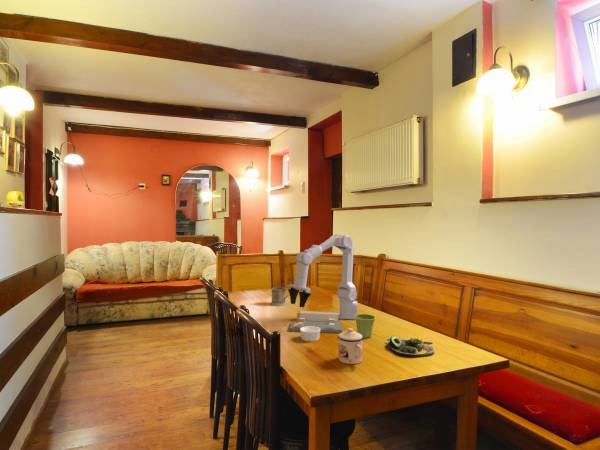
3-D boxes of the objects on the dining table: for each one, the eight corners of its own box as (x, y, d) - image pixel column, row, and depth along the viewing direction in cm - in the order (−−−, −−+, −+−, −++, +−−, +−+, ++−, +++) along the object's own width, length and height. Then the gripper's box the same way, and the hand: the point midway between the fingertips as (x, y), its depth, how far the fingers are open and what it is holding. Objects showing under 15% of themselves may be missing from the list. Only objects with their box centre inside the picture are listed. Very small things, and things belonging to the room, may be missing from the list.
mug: (267, 305, 221) (267, 285, 221) (274, 301, 230) (274, 282, 230) (289, 307, 216) (289, 287, 215) (295, 304, 225) (296, 284, 224)
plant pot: (376, 333, 167) (376, 314, 167) (373, 340, 158) (374, 320, 158) (356, 331, 170) (356, 313, 170) (352, 338, 161) (352, 318, 161)
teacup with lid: (333, 357, 138) (333, 326, 138) (354, 354, 142) (354, 324, 142) (350, 369, 127) (350, 336, 127) (372, 365, 131) (372, 332, 131)
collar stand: (341, 325, 180) (341, 318, 180) (342, 333, 168) (342, 325, 168) (292, 323, 182) (292, 316, 182) (289, 331, 170) (289, 323, 170)
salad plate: (421, 340, 159) (421, 330, 159) (447, 355, 142) (447, 343, 142) (380, 343, 155) (380, 332, 155) (401, 359, 137) (401, 347, 137)
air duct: (338, 319, 190) (338, 312, 190) (338, 322, 186) (338, 314, 186) (297, 318, 192) (297, 310, 192) (296, 320, 188) (296, 312, 188)
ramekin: (316, 343, 155) (316, 332, 154) (297, 340, 158) (297, 330, 158) (322, 336, 163) (322, 327, 163) (304, 334, 166) (304, 325, 166)
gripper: (286, 274, 181) (282, 302, 180) (303, 278, 169) (299, 308, 168) (297, 275, 185) (294, 302, 184) (315, 279, 173) (311, 308, 172)
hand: (297, 305), depth 176 cm, fingers open, 7 cm apart
